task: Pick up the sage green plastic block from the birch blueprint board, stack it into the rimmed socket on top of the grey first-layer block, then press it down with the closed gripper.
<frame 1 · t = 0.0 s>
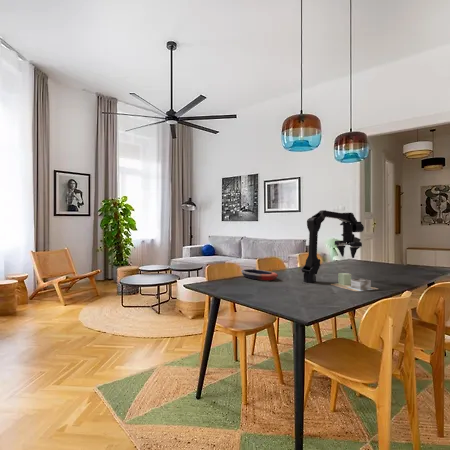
hand: (347, 257, 200), 15 cm above the table, tool pointing down, fingers open, 9 cm apart
sage block: (344, 284, 183), point 1 cm above the table, touching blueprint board
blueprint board: (353, 288, 177), on the table
dish: (259, 278, 210), on the table
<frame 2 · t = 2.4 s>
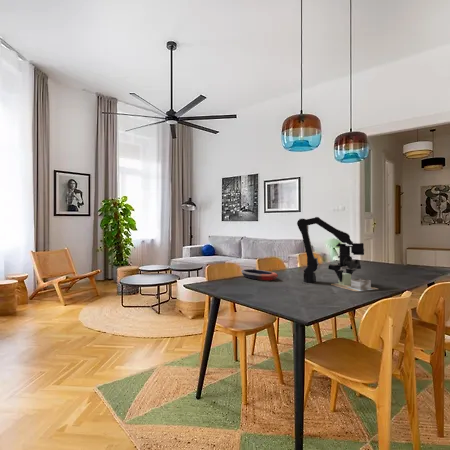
hand: (344, 281, 183), 3 cm above the table, tool pointing down, fingers closed on sage block, 5 cm apart
sage block: (344, 284, 183), point 1 cm above the table, touching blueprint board, gripper
everything else where it was.
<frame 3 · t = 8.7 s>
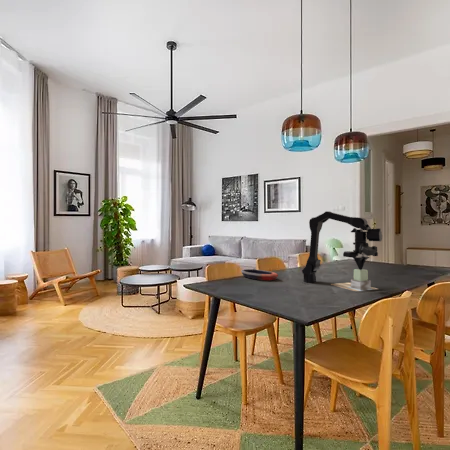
hand: (360, 269, 171), 11 cm above the table, tool pointing down, fingers closed, pressing on sage block
sage block: (360, 280, 171), point 5 cm above the table, touching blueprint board, gripper
everything else where it was.
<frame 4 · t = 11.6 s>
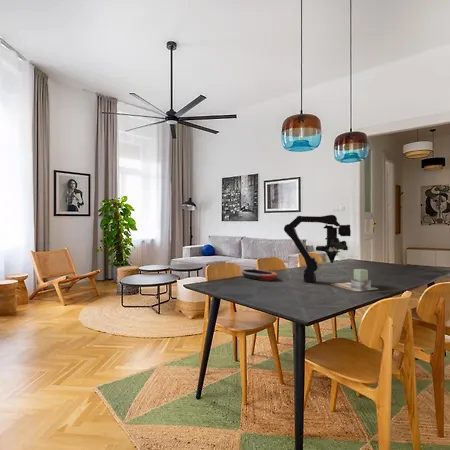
hand: (331, 262, 186), 13 cm above the table, tool pointing down, fingers closed
sage block: (360, 280, 171), point 5 cm above the table, touching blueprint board
everything else where it was.
at the end: sage block 0.0 cm from the target spot on the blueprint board, point 5.1 cm above the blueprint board's base; sage block tilted 0°; the gripper is holding nothing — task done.
